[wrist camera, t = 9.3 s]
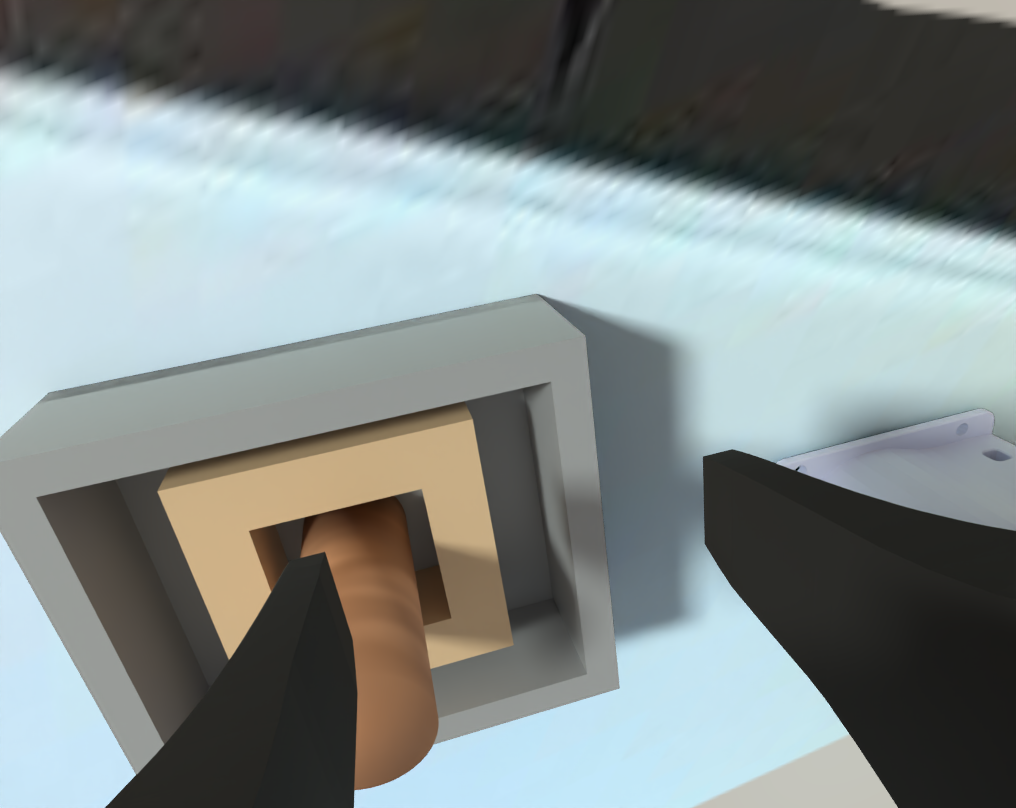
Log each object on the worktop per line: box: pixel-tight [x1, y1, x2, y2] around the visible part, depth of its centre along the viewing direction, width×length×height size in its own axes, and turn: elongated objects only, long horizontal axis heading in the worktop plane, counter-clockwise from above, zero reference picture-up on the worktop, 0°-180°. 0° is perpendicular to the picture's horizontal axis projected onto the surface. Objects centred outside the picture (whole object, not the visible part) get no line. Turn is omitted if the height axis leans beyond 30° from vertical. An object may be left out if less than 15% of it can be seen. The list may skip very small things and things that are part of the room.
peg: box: [300, 496, 439, 790], centre depth 17 cm, size 3×3×8 cm
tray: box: [0, 294, 620, 775], centre depth 20 cm, size 14×12×4 cm
